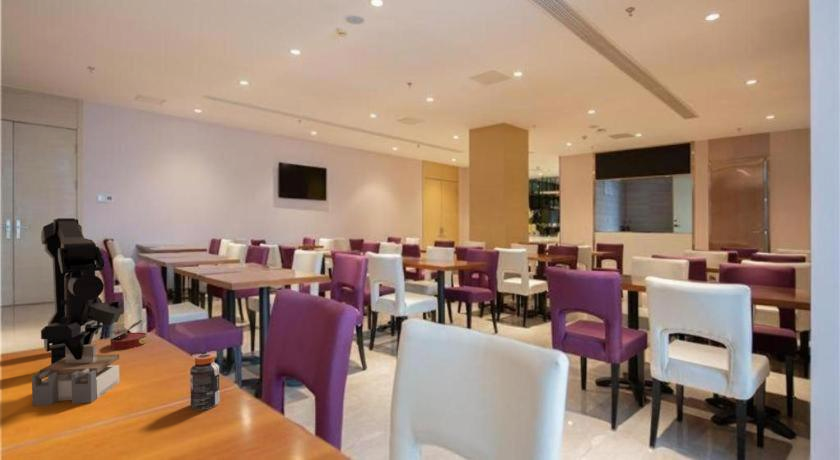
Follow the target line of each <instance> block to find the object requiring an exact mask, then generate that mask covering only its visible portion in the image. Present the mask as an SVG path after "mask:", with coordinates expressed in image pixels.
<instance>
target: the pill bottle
mask: <svg viewBox="0 0 840 460" xmlns="http://www.w3.org/2000/svg"><path fill="white" fill-rule="evenodd" d="M189 373H190V374H189V375H190V379H189V381H190V385H189V386H190V408H192V409H193V410H199V411H200V410H202V411H203V410H207V409H212V408H214V407H216V406H217V405H218V404H219V403H220V365H219V364H218V363H217V362H215V354H214V353H202V354H198V355H196V356H195V357H194V365H193V366H192V367H191V368H190V370H189Z"/></svg>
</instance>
